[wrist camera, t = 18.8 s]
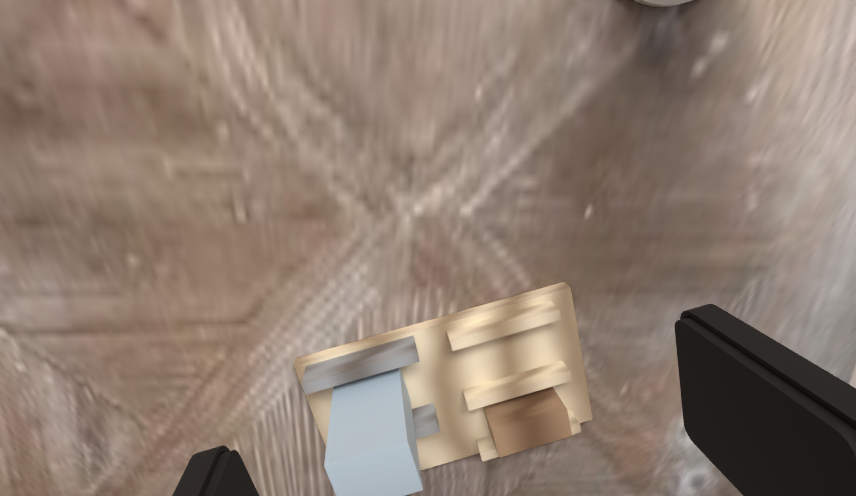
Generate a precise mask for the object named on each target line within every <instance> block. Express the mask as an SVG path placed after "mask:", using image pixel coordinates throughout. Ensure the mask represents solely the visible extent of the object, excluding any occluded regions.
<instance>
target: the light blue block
mask: <svg viewBox="0 0 856 496" xmlns="http://www.w3.org/2000/svg"><path fill="white" fill-rule="evenodd" d="M324 467H325V469H326V472H327V474H328V477H329V479H330V482H331V484H332V487H333V489H334V492H335V494H336V496H405V495H408V494H412V493H415V492H419V491H422V490H423V485H422V478H421V471H420V464H419V457H418V450H417V443H416V436H415V429H414V422H413V415H412V408H411V401H410V397H409V394H408V391H407V387H406V384H405V381H404V378H403V374H402V371H401V368H396V369H393V370H389V371H386V372H382V373H379V374H376V375H372V376H369V377H365V378H362V379H358V380H355V381H351V382H348V383H344V384H341V385H337V386H334V387H333V395H332V403H331V412H330V420H329V429H328V437H327V445H326V454H325V462H324Z"/></svg>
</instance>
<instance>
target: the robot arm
mask: <svg viewBox="0 0 856 496" xmlns="http://www.w3.org/2000/svg"><path fill="white" fill-rule="evenodd" d="M634 1H636V2H638V3H642V4H645V5H648V6H655V7H668V6H675V5H679V4H683V3H686V2H689V1H692V0H634ZM675 335H676V345H677V356H678V367H679V377H680V388H681V399H682V409H683V420H684V427H685V429H686V432H687V434H688V436H689V437H690V439H691V440H692V442H693V443H694V444H695V445H696V446H697V447H698V448H699V449H700V450H701V451H702V452H703V453H704V454H705V456H706V457H707V458H708V459H709V460H710V461H711V462H712V463H713V464H714V465H715V466H716V467H717V468H718V469H719V470H720V471H721V472H722V473H723V475H724V476H725V477H726V478H727V479H728V480H729V481H730V482H731V483H732V484H733V485H734V486H735V487H736V488H737V489H738V490H739V491H740V492H741V494H742V495H743V496H856V388H854V387H852V386H851V385H849V384H847V383H846V382H844V381H842V380H840V379H839V378H837V377H835V376H834V375H832V374H830V373H829V372H827V371H825V370H824V369H822V368H820V367H819V366H817V365H815V364H814V363H812V362H810V361H808V360H807V359H805V358H803V357H802V356H800V355H798V354H797V353H795V352H793V351H792V350H790V349H788V348H787V347H785V346H783V345H782V344H780V343H778V342H776V341H775V340H773V339H771V338H770V337H768V336H766V335H765V334H763V333H761V332H760V331H758V330H756V329H755V328H753V327H751V326H750V325H748V324H746V323H744V322H743V321H741V320H739V319H738V318H736V317H734V316H733V315H731V314H729V313H728V312H726V311H724V310H723V309H721V308H719V307H718V306H716V305H713V304H707V305H704V306H700V307H697V308H694V309H690V310H687V311H684V312H683V313H682V314H681V317H680V320H678V321H677V322H676V323H675ZM173 496H259V495H258V492H257V490H256V488H255V486H254V484H253V482H252V480H251V478H250V475H249V473H248V471H247V469H246V467H245V465H244V463H243V461H242V459H241V456H240V455H239V453H238V452H237V451H236V450H232V451H230V450H229V449H228V448H227V447H226V446H219V447H216V448H213V449H209V450H206V451H202V452H199V453H196V454H194V455H193V456H192V458H191V459H190V461H189V463H188V465H187V467H186V469H185V471H184V473H183V475H182V477H181V479H180V481H179V483H178V486H177V488H176V490H175V492H174V494H173Z"/></svg>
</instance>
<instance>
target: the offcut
mask: <svg viewBox="0 0 856 496" xmlns="http://www.w3.org/2000/svg"><path fill="white" fill-rule="evenodd" d="M483 409H484V413H485V417H486V421H487V425H488V429H489V432H490V434H491V437H492V440H493V443H494V445H495V448H496V451H497V453H498V456H499V458H500V457H503V456H507V455H510V454H513V453H517V452H520V451H523V450H527V449H530V448H534V447H537V446H540V445H544V444H547V443H550V442H554V441H557V440H560V439H564V438H567V437H570V436H572V432H571V427H570V421H569V416H568V411H567V408H566V407H565V405H564V404H563V402H562V400H561V399H560V397H559V396H558V394H557V393H556V391H555V390H554V388H553V386H552V387H549V388H545V389H542V390H539V391H535V392H532V393H528V394H525V395H522V396H518V397H515V398H511V399H508V400H505V401H501V402H498V403H494V404H491V405H488V406H484V407H483Z"/></svg>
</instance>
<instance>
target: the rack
mask: <svg viewBox="0 0 856 496" xmlns="http://www.w3.org/2000/svg"><path fill="white" fill-rule="evenodd" d="M294 368H295V370H296V373H297V375H298V378H299V380H300V383H301V385H302V388H303V390H304V393H305V395H306V398H307V401H308V403H309V406H310V408H311V411H312V413H313V416H314V418H315V421H316V423H317V426H318V428H319V431H320V433H321V436H322V438H323V441H324V443H325V446H326V445H327V437H328V429H329V420H330V412H331V403H332V395H333V387H334V386H337V385H341V384H344V383H348V382H351V381H355V380H358V379H362V378H365V377H369V376H372V375H376V374H379V373H382V372H386V371H389V370H393V369H396V368H401V371H402V374H403V378H404V381H405V384H406V387H407V391H408V394H409V397H410V401H411V408H412V415H413V422H414V429H415V436H416V443H417V450H418V457H419V464H420V471H421V470H424V469H428V468H431V467H434V466H438V465H441V464H445V463H448V462H451V461H455V460H458V459H461V458H465V457H468V456H471V455H475V454H478V453H480V456H481V459H482V462H483V461H486V460H489V459H493V458H496V457H499V456H498V453H497V451H496V448H495V445H494V443H493V440H492V437H491V434H490V432H489V429H488V425H487V421H486V417H485V413H484V409H483V407H484V406H488V405H491V404H494V403H498V402H501V401H505V400H508V399H511V398H515V397H518V396H522V395H525V394H528V393H532V392H535V391H539V390H542V389H545V388H549V387H552V386H553V388H554V390H555V391H556V393H557V394H558V396H559V397H560V399H561V400H562V402H563V404H564V405H565V407H566V408H567V411H568V416H569V421H570V427H571V432H572V435H573V434H577V433H580V432H581V428H580V423H582V422H586V421H589V420H592V419H593V418H592V412H591V406H590V400H589V394H588V388H587V382H586V376H585V370H584V364H583V358H582V353H581V347H580V341H579V335H578V329H577V323H576V317H575V311H574V305H573V299H572V293H571V288H570V287H569V286H568V285H567V284H566V283H565V282H561V283H558V284H554V285H551V286H547V287H544V288H540V289H537V290H533V291H530V292H526V293H523V294H519V295H516V296H512V297H509V298H505V299H502V300H498V301H495V302H491V303H488V304H484V305H481V306H477V307H474V308H470V309H467V310H463V311H460V312H456V313H453V314H449V315H446V316H442V317H439V318H435V319H432V320H428V321H425V322H421V323H418V324H414V325H411V326H407V327H404V328H400V329H397V330H393V331H390V332H386V333H383V334H379V335H376V336H372V337H369V338H365V339H362V340H358V341H355V342H351V343H348V344H344V345H341V346H337V347H334V348H330V349H327V350H323V351H320V352H316V353H313V354H309V355H306V356H302V357H299V358H296V362H295V365H294Z"/></svg>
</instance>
